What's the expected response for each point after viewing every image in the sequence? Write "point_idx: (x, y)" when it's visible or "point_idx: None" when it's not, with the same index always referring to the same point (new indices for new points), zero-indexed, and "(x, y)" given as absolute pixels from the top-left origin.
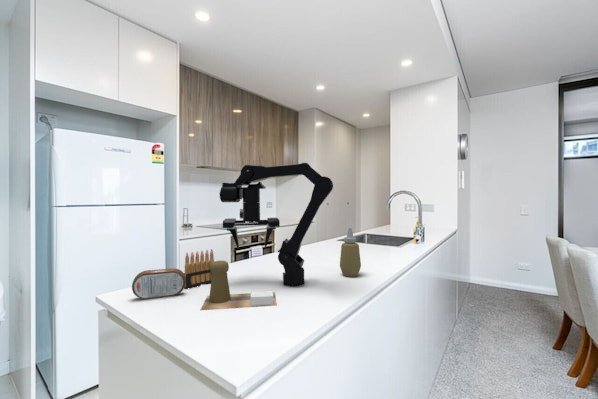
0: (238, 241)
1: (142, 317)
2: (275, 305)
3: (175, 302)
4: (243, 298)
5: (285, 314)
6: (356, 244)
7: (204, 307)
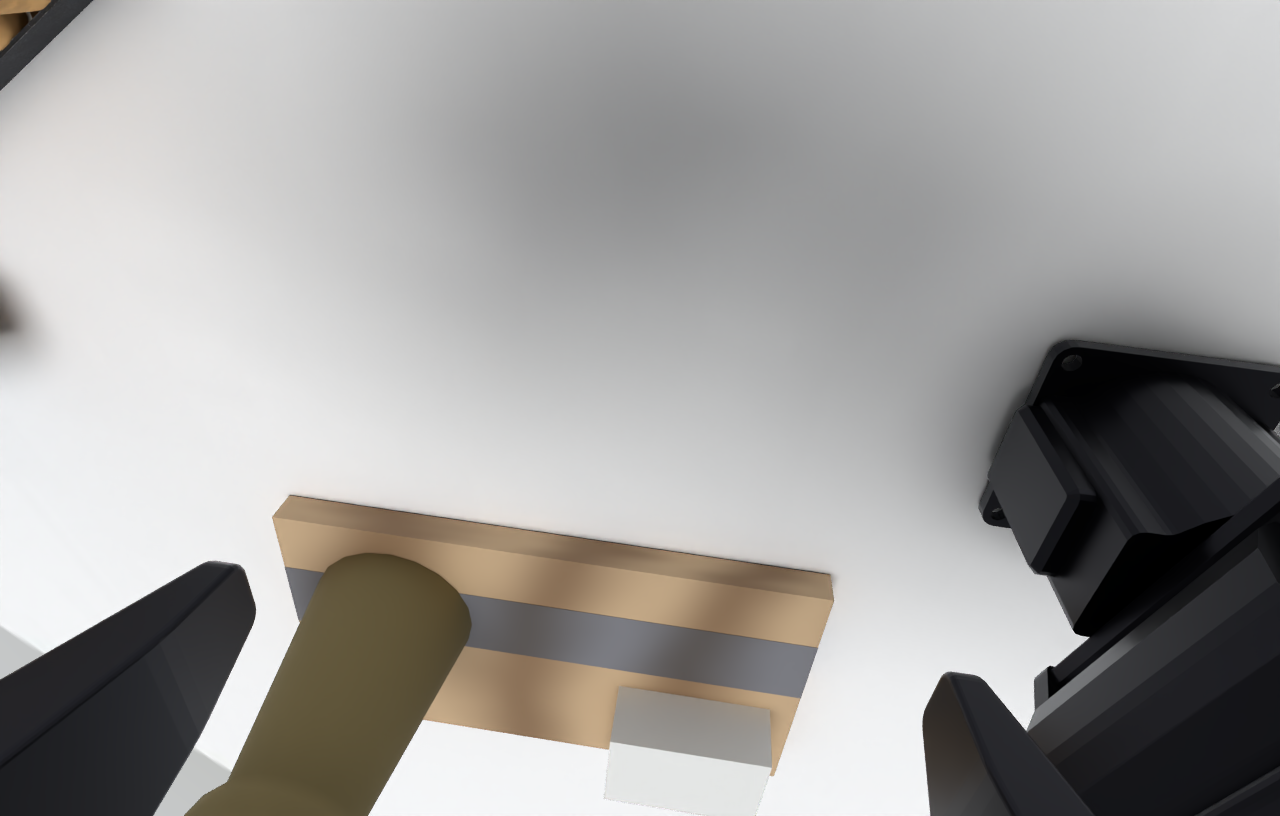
0: (104, 721)
1: (28, 619)
2: None
3: (68, 475)
4: (565, 641)
5: (801, 796)
6: None
7: None
